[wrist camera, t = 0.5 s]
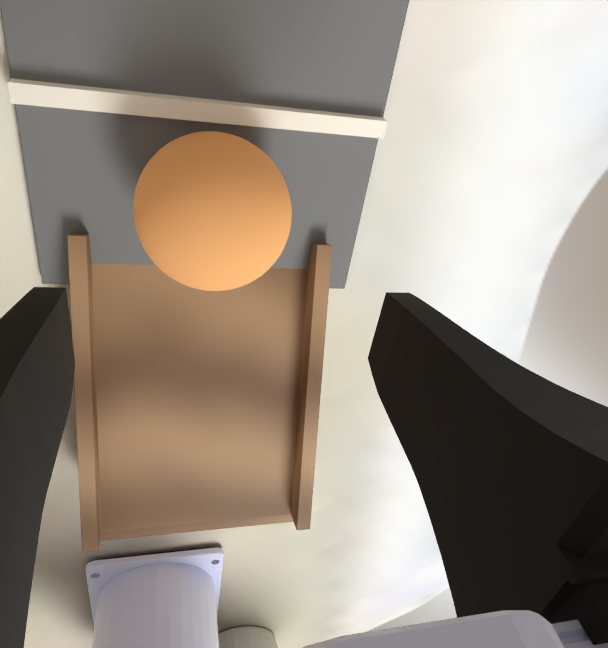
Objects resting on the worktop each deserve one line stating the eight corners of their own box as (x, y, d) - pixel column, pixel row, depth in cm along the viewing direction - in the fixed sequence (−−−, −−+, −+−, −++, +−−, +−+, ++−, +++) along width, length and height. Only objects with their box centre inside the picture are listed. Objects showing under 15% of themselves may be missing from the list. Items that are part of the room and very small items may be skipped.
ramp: (279, 447, 30) (303, 553, 25) (100, 457, 28) (86, 578, 23) (319, 222, 22) (366, 310, 17) (75, 210, 20) (44, 308, 15)
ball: (269, 248, 21) (293, 321, 17) (138, 244, 20) (132, 321, 16) (286, 119, 18) (319, 171, 14) (133, 104, 17) (125, 156, 13)
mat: (342, 283, 23) (365, 329, 21) (44, 277, 20) (26, 330, 18) (427, -106, 16) (481, -113, 13) (-28, -209, 13) (-80, -245, 10)
